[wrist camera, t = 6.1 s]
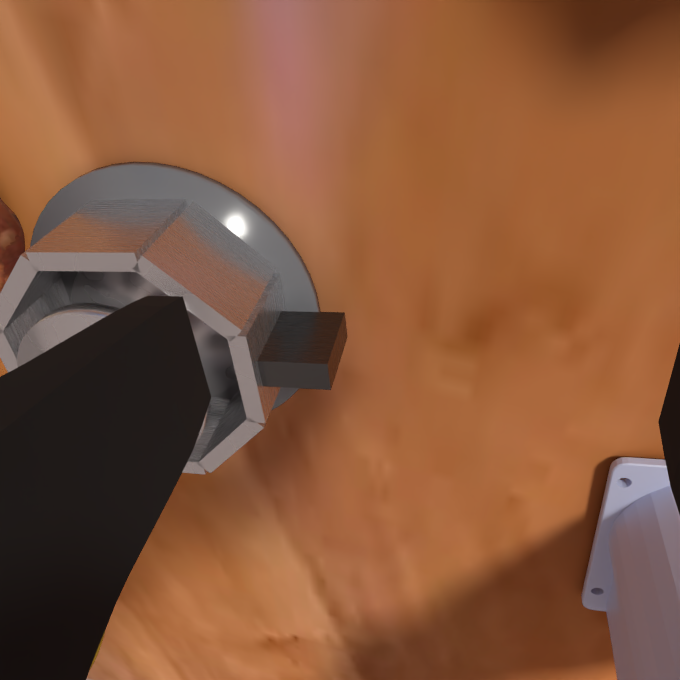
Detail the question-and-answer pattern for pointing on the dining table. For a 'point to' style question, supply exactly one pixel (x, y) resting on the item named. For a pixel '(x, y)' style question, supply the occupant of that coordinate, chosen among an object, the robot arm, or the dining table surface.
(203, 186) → the round metal disc
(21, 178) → the dining table surface
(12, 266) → the slice of bread
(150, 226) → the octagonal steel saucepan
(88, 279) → the silver rounded piece
